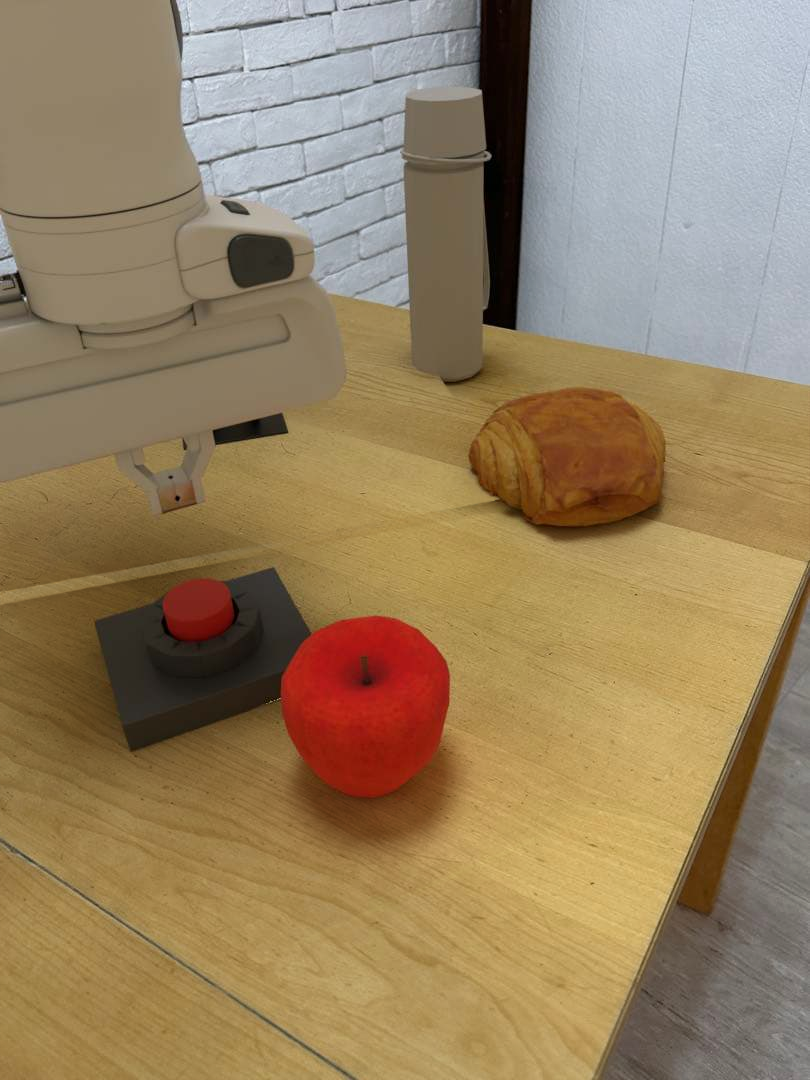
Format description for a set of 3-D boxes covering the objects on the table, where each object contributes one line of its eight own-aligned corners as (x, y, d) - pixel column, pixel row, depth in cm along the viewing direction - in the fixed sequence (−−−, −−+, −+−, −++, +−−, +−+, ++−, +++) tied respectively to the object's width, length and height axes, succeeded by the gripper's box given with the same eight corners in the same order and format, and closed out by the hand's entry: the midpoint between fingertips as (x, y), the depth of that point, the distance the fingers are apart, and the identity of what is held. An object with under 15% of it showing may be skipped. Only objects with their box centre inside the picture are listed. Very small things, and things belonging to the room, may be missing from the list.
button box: (130, 752, 51) (114, 702, 49) (102, 646, 59) (86, 598, 56) (329, 683, 55) (322, 634, 53) (277, 591, 62) (270, 544, 60)
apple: (473, 813, 47) (472, 707, 42) (304, 849, 46) (284, 743, 41) (432, 692, 54) (428, 590, 49) (285, 720, 53) (267, 618, 48)
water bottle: (448, 394, 86) (442, 106, 71) (394, 369, 90) (378, 95, 76) (515, 364, 90) (522, 87, 76) (460, 342, 95) (457, 79, 81)
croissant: (466, 469, 78) (452, 386, 74) (644, 431, 78) (640, 345, 73) (494, 565, 67) (479, 473, 62) (704, 522, 66) (703, 425, 61)
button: (176, 651, 53) (170, 628, 52) (161, 611, 56) (155, 589, 55) (242, 630, 54) (238, 607, 53) (224, 592, 57) (220, 570, 56)
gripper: (-131, 324, 36) (-18, 593, 44) (344, 233, 43) (367, 483, 51) (-127, 277, 41) (-26, 528, 49) (300, 202, 47) (327, 435, 55)
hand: (177, 504), depth 50 cm, fingers closed
